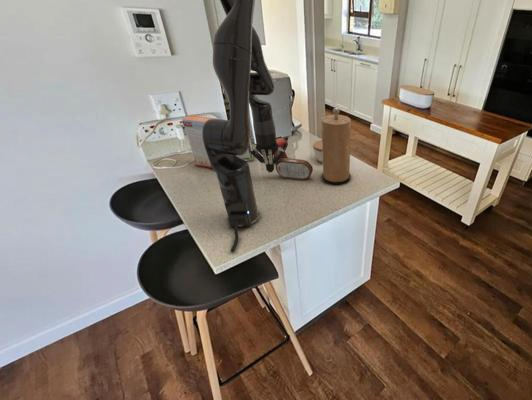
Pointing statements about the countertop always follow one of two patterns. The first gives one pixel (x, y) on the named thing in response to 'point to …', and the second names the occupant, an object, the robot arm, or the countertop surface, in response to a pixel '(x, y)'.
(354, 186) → the countertop surface
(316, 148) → the trinket box
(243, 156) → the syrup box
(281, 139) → the stuffed fox
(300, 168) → the tin
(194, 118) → the cracker box
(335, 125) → the paper towel roll
